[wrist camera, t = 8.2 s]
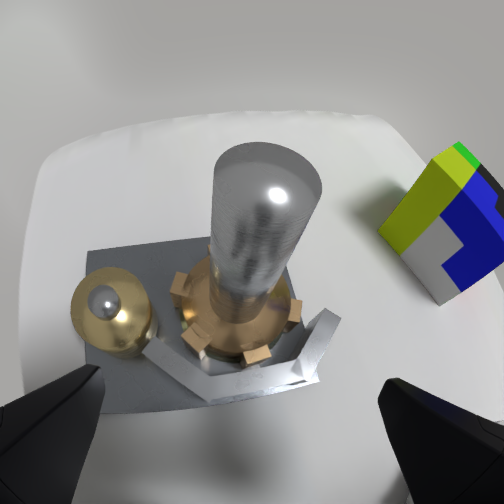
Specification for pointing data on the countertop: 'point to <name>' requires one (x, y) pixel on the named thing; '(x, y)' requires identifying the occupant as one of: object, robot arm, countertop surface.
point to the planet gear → (248, 254)
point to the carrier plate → (175, 336)
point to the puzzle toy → (449, 224)
